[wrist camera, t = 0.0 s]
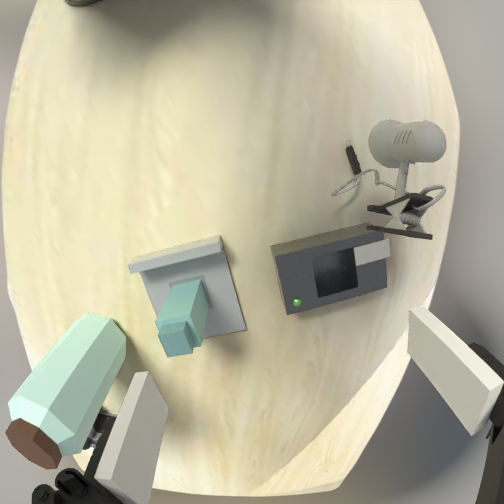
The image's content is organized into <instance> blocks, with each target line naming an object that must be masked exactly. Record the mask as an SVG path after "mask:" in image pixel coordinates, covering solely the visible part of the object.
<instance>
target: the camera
mask: <svg viewBox="0 0 504 504" xmlns="http://www.w3.org/2000/svg"><path fill="white" fill-rule="evenodd" d="M117 416H118V415H114V414H109V413H105V412H100V411H99V413H98V415H97V417H96V420H95V422H94V424H93V426H92V428H91V431H90V433H89V435H88V437H87V440H86V442H85V444H84V446H83V450H86V449H89V448H90V447H93V448H96V447H95V446H96V443H97V441H98V438H99V437H100V436H101V435H102V434H103V432H104V431H105V430H112V428H113V426H114V423H115V421H116V418H117Z"/></svg>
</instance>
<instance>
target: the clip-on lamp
mask: <svg viewBox="0 0 504 504" xmlns="http://www.w3.org/2000/svg"><path fill="white" fill-rule="evenodd" d="M369 148H370V152H371V154H372V155H373V157H374V159H375V160H376V161H378V162H379V163H380V164H381V165H383V166H386V167H388V168H399V172H398V179H397V185H396V187H394V186H392V185H389V184H387V183H385V182H382V181H380V178H379V173H378V172H377V170H375V169H368V170H366V171H364V172H362V173H361V169H360V166H359V165H360V164H359V162H358V160H357V157H356V155H355V152H354V149H353V147H352V146H350V141H347V148H346V151H347V154H348V157H349V160H350V163H351V165H352V168H353V171H354V174H355V175H356V174H357V176H355V177H354V178H352V179H351V180H349V181H348V182H347V183H345V184H344V185H342V186H341V187H340V188H338V189H337V190H336V191H334V192H333V193H332V194H331V196H336V195H338V194H341V193H344V192H346V191H348V190H350V189H352V188H353V187H355V186H356V185H357V184H358V183H359V181H360V176H361V175H363V174H365V173H367V172H369V171H374V172H375V184H376V185H379V184H383V185H386V186H388V187H390V188H392V189H394V190H396V191H395V197H394V200H393V201H391V202H388V203H386V204H384V205H381V206H375V205H370V206H368V207H367V211H371V212H376V213H382V214H387V215H392V216H393V218H392V219H391V220H390V221H389V222H388V223H387V224H386V225H385V226H384V227H378V226H372V225H367V227H366V229H368V230H374V231H380V232H385V233H391V234H397V235H404V236H408V237H414V238H422V239H429V240H432V237H433V235H431V234H427V233H426V232H425V230H424V228H423V227H422V225H421V224H420V219H421V217H422V216H423V215H424V213H425V212H426V210H427V209H428V208H429V207H430V206H432V205H434V204H435V203H436V202H437V201H439V200H440V199H441V198H442V197H443V195H444V194H445V192H446V188H445V186H444V185H434V186H429V187H427V188H424V189H423V190H422V191H421V192H420V193H419V194H418V193H409V192H406V191H405V188H406V182H407V175H408V167H409V164H415V162H435V161H437V160H439V159H440V158H441V157H442V156H443V154H444V153H445V150H446V139H445V135H444V133H443V131H442V130H441V129H440V128H439V127H438V125H436V124H434V123H433V122H430V121H421V122H414V123H407V124H402V123H400V122H399V121H394V120H386V121H382V122H380V123H378V124H377V125H376V126H375V127H374V128H373V129H372V131H371V133H370V136H369ZM355 179H357V181H356V183H355V184H354V185H353V186H352V187H350V188H348V189H346V190H344V191H342V192H339V193H337V192H338V191H340V190H341V189H342V188H344V187H345V186H346V185H348V184H349V183H351V182H352V181H354V180H355ZM436 189H443V190H442V191H441V192H440V193H439V194H438V195H437V196H436V197H435V198H434V199H433V198H432V197H429V196H426V195H425V194H426V193H427V192H429V191H432V190H436ZM404 194H406V195H405V196H404ZM403 224H407V225H409V226H408V227H407V228H406V229H405V227H404V225H403Z"/></svg>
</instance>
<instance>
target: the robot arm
mask: <svg viewBox="0 0 504 504" xmlns="http://www.w3.org/2000/svg"><path fill="white" fill-rule="evenodd" d="M65 1H66V2H67V3H69V4H71V5H75V6H85V5H90V4H94V3H97V2H99V1H102V0H65ZM407 352H408V354H409V355H410V356H411V357H412V359H413V360H414V361H415V362H416V363H417V365H418V366H419V367H420V368H421V370H422V371H423V372H424V374H425V375H426V376H427V377H428V379H429V380H430V381H431V383H432V384H433V385H434V386H435V388H436V389H437V390H438V392H439V393H440V394H441V396H442V397H443V398H444V399H445V401H446V402H447V403H448V405H449V406H450V407H451V409H452V410H453V411H454V413H455V414H456V416H457V417H458V418H459V419H460V421H461V422H462V424H463V425H464V426H465V428H466V429H467V431H468V432H469V433H470V435H471V436H472V435H474V434H475V433H477V432H479V431H480V430H482V429H483V428H485V426H486V424H487V422H488V420H489V419H490V420H491V421H492V423H493V424H492V426H491V428H490V430H489V432H488V434H487V437H486V439H488V437H489V436H490V439H489V446H488V452H487V458H486V463H485V468H484V472H483V476H482V481H481V485H480V489H479V493H478V496H477V500H476V503H475V504H504V365H503V364H502V363H500V362H499V361H498V360H497V359H495V357H494V356H493V355H492V354H490V353H489V351H487V350H486V349H485V348H484V347H483V346H481V345H478V344H476V343H472V344H470V345H468V346H467V345H466V344H465V343H464V342H463V341H462V340H461V339H460V338H459V337H457V336H456V335H455V334H454V333H453V332H452V331H451V330H450V329H448V328H447V327H446V326H445V325H444V324H443V323H442V322H441V321H440V320H439V319H437V318H436V317H435V316H434V315H433V314H432V313H430V312H429V311H428V310H427V309H426V308H425V307H424V306H423V305H419V306H416V307H414V308H411V309H409V332H408V351H407ZM168 411H169V408H168V406H167V404H166V402H165V401H164V399H163V397H162V395H161V393H160V392H159V390H158V388H157V386H156V384H155V383H154V381H153V379H152V377H151V375H150V373H149V371H145V372H137V373H135V375H134V377H133V379H132V382H131V384H130V386H129V389H128V391H127V394H126V396H125V398H124V401H123V403H122V406H121V408H120V411H119V413H118V416H117V418H116V421H115V423H114V426H113V428H112V430H105V431H104V432H103V434H102V435H101V436H100V437H99V438H98V441H97V443H96V446H95V447H96V448H94V451H93V455H92V456H91V458H90V461H89V463H88V466H87V469H86V471H85V474H84V476H83V475H82V474H81V473H80V472H79V471H78V470H76V469H74V468H67V469H64V470H62V471H61V472H59V474H58V475H57V477H56V479H55V486H56V487H57V488H58V489H59V490H57V491H55V490H54V489H53V488H52V487H51V486H49V485H47V484H42V485H39V486H38V487H36V488H35V489H34V491H33V493H32V504H149V499H150V494H151V489H152V484H153V480H154V475H155V470H156V465H157V460H158V456H159V451H160V446H161V442H162V437H163V433H164V429H165V424H166V420H167V416H168Z"/></svg>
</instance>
